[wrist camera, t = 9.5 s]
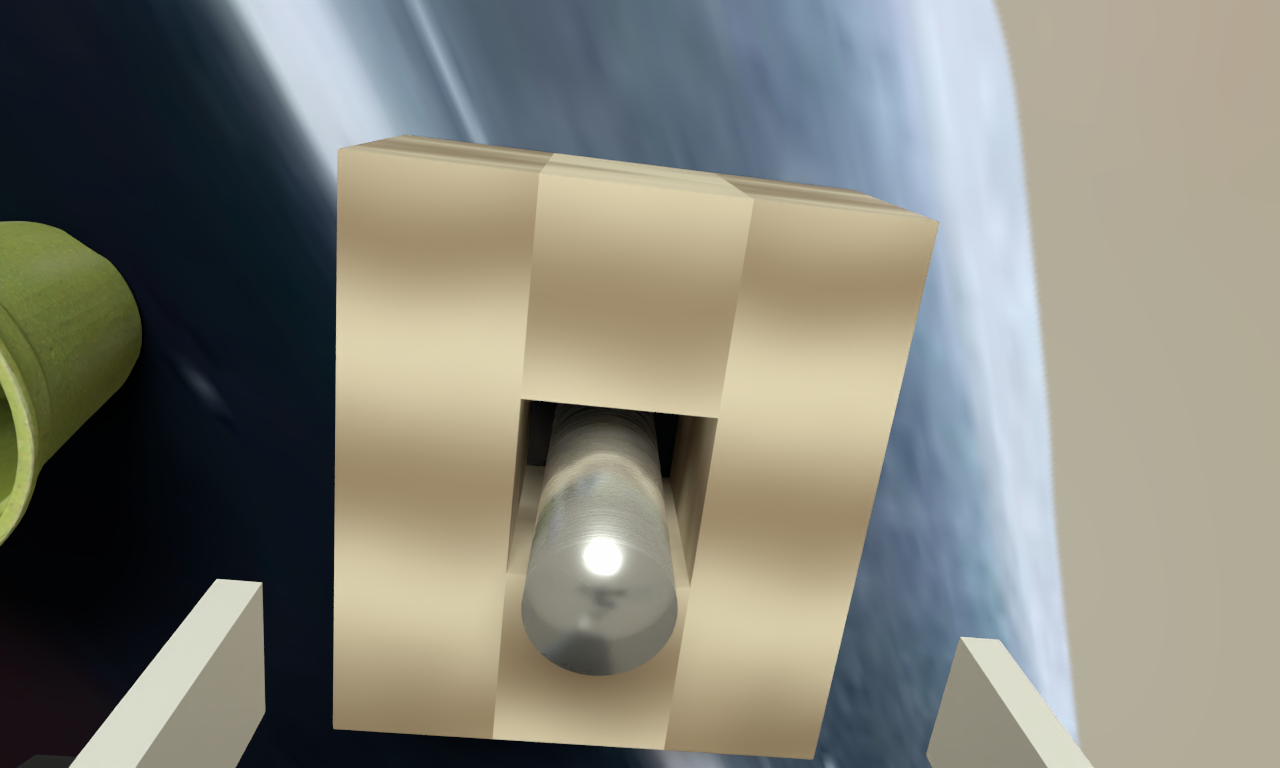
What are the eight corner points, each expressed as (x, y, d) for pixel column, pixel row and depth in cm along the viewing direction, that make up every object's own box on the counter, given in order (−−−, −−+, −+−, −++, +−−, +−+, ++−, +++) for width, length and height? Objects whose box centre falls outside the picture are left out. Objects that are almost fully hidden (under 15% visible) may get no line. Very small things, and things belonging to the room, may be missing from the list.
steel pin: (646, 451, 29) (668, 680, 18) (553, 443, 29) (516, 670, 18) (656, 364, 28) (687, 548, 17) (561, 355, 28) (526, 535, 17)
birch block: (768, 620, 32) (813, 759, 25) (390, 591, 30) (332, 728, 24) (854, 190, 27) (939, 222, 20) (404, 134, 25) (337, 149, 19)
